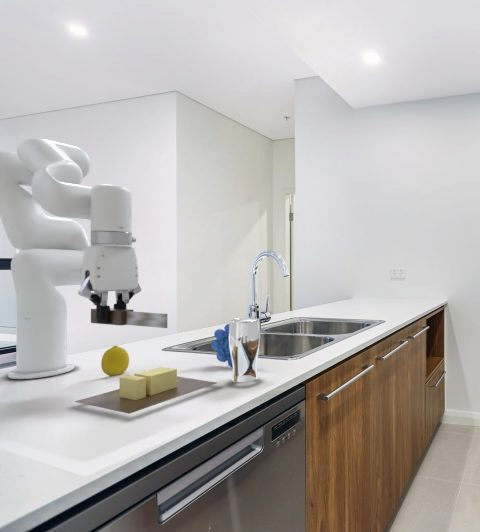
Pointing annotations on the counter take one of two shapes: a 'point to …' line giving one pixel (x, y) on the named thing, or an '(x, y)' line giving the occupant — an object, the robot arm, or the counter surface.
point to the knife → (133, 318)
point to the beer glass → (244, 348)
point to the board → (129, 406)
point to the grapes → (222, 345)
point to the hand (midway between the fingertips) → (111, 321)
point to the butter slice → (132, 387)
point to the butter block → (159, 379)
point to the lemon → (115, 361)
